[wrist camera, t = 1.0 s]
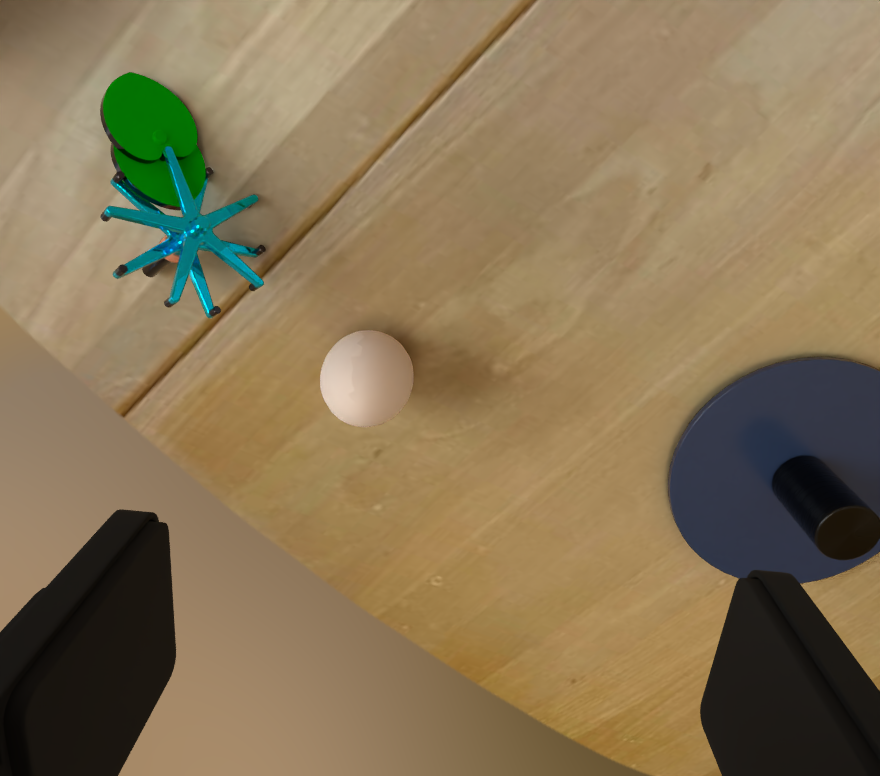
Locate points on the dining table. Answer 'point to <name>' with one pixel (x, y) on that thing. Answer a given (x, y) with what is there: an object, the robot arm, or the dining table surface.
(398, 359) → the egg
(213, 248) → the stick construction toy
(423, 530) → the dining table surface
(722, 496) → the lid
